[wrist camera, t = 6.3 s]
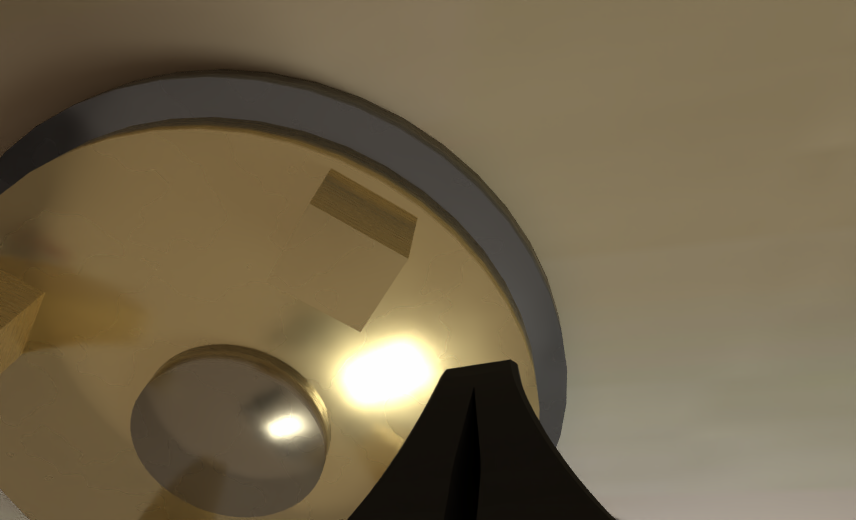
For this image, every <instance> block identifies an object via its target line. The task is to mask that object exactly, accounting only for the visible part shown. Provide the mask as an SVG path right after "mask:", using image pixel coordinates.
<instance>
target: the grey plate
mask: <svg viewBox="0 0 856 520" xmlns="http://www.w3.org/2000/svg"><path fill="white" fill-rule="evenodd" d="M201 117H221V118H231V119H242V120H253V121H261V122H266V123H270V124H275V125H279V126H284V127H288V128H293V129H297V130H301V131H305V132H308V133H311V134H314V135H316V136H319V137H322V138H325V139H328V140H330V141H333V142H336V143H339V144H342V145H344V146H347V147H349V148H351V149H353V150H355V151H357V152H359V153H361V154H363V155H365V156H367V157H369V158H371V159H373V160H375V161H377V162H379V163H381V164H383V165H385V166H387V167H388V168H390V169H391V170H393V171H394V172H396V173H397V174H399V175H400V176H402V177H403V178H405V179H406V180H408V181H409V182H411V183H412V184H414V185H415V186H417V187H418V188H420V189H421V190H423V191H424V192H426V193H427V194H428V195H429V196H430V197H431V198H432V199H434V200H435V201H436V202H437V203H438V204H439V205H441V206H442V207H443V208H444V209H445V210H446V211H447V212H449V213H450V214H451V215H452V216H453V217H454V218H456V219H457V221H458V222H459V223H460V224H461V225H462V226H463V227H464V228H465V229H466V231H467V232H468V233H469V234H470V235H471V236H472V237H473V238H474V240H475V241H476V242H477V243H478V244H479V245H480V246H481V247H482V249H483V250H484V251H485V253H486V254H487V256H488V257H489V259H490V260H491V262H492V263H493V265H494V266H495V268H496V269H497V270H498V272H499V273H500V275H501V276H502V278H503V279H504V281H505V282H506V285H507V287H508V289H509V291H510V293H511V295H512V297H513V299H514V301H515V303H516V305H517V307H518V309H519V311H520V313H521V316H522V319H523V322H524V325H525V329H526V332H527V335H528V338H529V342H530V345H531V348H532V355H533V361H534V368H535V375H536V382H537V391H538V400H539V421H540V423H541V425H542V426H543V428H544V430H545V432H546V433H547V435H548V436H549V438H550V439H551V441H552V443H553V444H554V446H555V447H556V446H557V443H558V441H559V438H560V434H561V429H562V423H563V418H564V412H565V407H566V386H567V367H566V360H565V353H564V346H563V339H562V332H561V327H560V321H559V316H558V312H557V308H556V305H555V302H554V299H553V295H552V292H551V289H550V286H549V282H548V279H547V276H546V274H545V272H544V270H543V268H542V266H541V264H540V262H539V260H538V258H537V256H536V253H535V251H534V249H533V247H532V245H531V243H530V241H529V240H528V238H527V237H526V235H525V234H524V232H523V231H522V229H521V228H520V226H519V225H518V223H517V222H516V220H515V219H514V217H513V216H512V214H511V213H510V211H509V210H508V208H507V207H506V206H505V205H504V204H503V202H502V201H501V200H500V199H499V198H498V197H497V196H496V195H495V193H494V192H493V191H492V190H491V189H490V188H489V187H488V185H487V184H486V183H485V182H484V181H483V180H482V179H481V178H480V176H479V175H478V174H476V173H475V172H474V171H473V170H472V169H471V168H470V167H468V166H467V165H466V164H465V163H464V162H463V161H461V160H460V159H459V158H458V157H457V156H456V155H455V154H453V153H452V152H451V151H450V150H449V149H448V148H446V147H445V146H444V145H443V144H441V143H440V142H438V141H437V140H435V139H434V138H432V137H431V136H429V135H428V134H426V133H425V132H423V131H422V130H420V129H419V128H417V127H416V126H414V125H413V124H411V123H410V122H408V121H407V120H405V119H403V118H401V117H399V116H397V115H395V114H393V113H391V112H389V111H387V110H385V109H383V108H381V107H379V106H377V105H375V104H373V103H371V102H369V101H367V100H365V99H363V98H360V97H357V96H354V95H351V94H348V93H345V92H343V91H340V90H337V89H334V88H331V87H328V86H325V85H322V84H319V83H317V82H312V81H307V80H302V79H297V78H292V77H288V76H283V75H278V74H273V73H266V72H253V71H239V70H225V69H219V70H204V71H188V72H175V73H171V74H166V75H161V76H156V77H152V78H147V79H142V80H137V81H133V82H130V83H128V84H125V85H122V86H120V87H117V88H114V89H112V90H109V91H106V92H104V93H101V94H98V95H96V96H93V97H91V98H89V99H87V100H84V101H82V102H80V103H78V104H75V105H73V106H71V107H69V108H68V109H66V110H64V111H62V112H61V113H59V114H57V115H55V116H54V117H52V118H50V119H48V120H47V121H45V122H43V123H41V124H40V125H38V126H36V127H35V128H34V129H33V130H31V131H30V132H29V133H28V134H27V135H25V136H24V137H23V138H22V139H21V140H19V141H18V142H17V143H16V144H14V145H13V146H12V147H11V148H10V149H8V150H7V151H6V152H5V153H4V154H3V156H2V157H1V158H0V195H1V194H2V193H3V192H5V191H6V190H7V189H8V188H10V187H11V186H12V185H14V184H15V183H16V182H18V181H19V180H20V179H22V178H23V177H24V176H26V175H27V174H28V173H30V172H31V171H33V170H35V169H37V168H38V167H40V166H42V165H44V164H46V163H48V162H49V161H51V160H53V159H55V158H57V157H58V156H60V155H62V154H64V153H66V152H68V151H70V150H72V149H74V148H76V147H78V146H79V145H81V144H83V143H85V142H87V141H89V140H91V139H93V138H96V137H99V136H102V135H105V134H108V133H111V132H114V131H117V130H120V129H123V128H126V127H129V126H133V125H139V124H144V123H150V122H155V121H161V120H167V119H175V118H201Z"/></svg>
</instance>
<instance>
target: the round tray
mask: <svg viewBox="0 0 856 520" xmlns="http://www.w3.org/2000/svg"><path fill="white" fill-rule="evenodd" d="M509 359H511V360H512V361H514V362H516V363H517V364H518V368H519V372H520V377H521V382H522V386H523V389H524V391H525V394H526V396H527V398H528V400H529V403H530V404H531V406H532V408H533V410H534V412H535V414H536V416H537V418H538V419H539V400H538V391H537V382H536V375H535V368H534V361H533V355H532V348H531V345H530V342H529V338H528V335H527V332H526V329H525V325H524V322H523V319H522V316H521V313H520V311H519V309H518V307H517V305H516V303H515V301H514V299H513V297H512V295H511V293H510V291H509V289H508V287H507V285H506V282H505V281H504V279H503V278H502V276H501V275H500V273H499V272H498V270H497V269H496V268H495V266H494V265H493V263H492V262H491V260H490V259H489V257H488V256H487V254H486V253H485V251H484V250H483V249H482V247H481V246H480V245H479V244H478V243H477V242H476V241H475V240H474V238H473V237H472V236H471V235H470V234H469V233H468V232H467V231H466V229H465V228H464V227H463V226H462V225H461V224H460V223H459V222H458V221H457V219H456V218H454V217H453V216H452V215H451V214H450V213H449V212H447V211H446V210H445V209H444V208H443V207H442V206H441V205H439V204H438V203H437V202H436V201H435V200H434V199H432V198H431V197H430V196H429V195H428V194H427V193H426V192H424V191H423V190H421V189H420V188H418V187H417V186H415V185H414V184H412V183H411V182H409V181H408V180H406V179H405V178H403V177H402V176H400V175H399V174H397V173H396V172H394V171H393V170H391V169H390V168H388V167H387V166H385V165H383V164H381V163H379V162H377V161H375V160H373V159H371V158H369V157H367V156H365V155H363V154H361V153H359V152H357V151H355V150H353V149H351V148H349V147H347V146H344V145H342V144H339V143H336V142H333V141H330V140H328V139H325V138H322V137H319V136H316V135H314V134H311V133H308V132H305V131H301V130H297V129H293V128H288V127H284V126H279V125H275V124H270V123H266V122H261V121H253V120H242V119H231V118H221V117H201V118H175V119H167V120H161V121H155V122H150V123H144V124H139V125H133V126H129V127H126V128H123V129H120V130H117V131H114V132H111V133H108V134H105V135H102V136H99V137H96V138H93V139H91V140H89V141H87V142H85V143H83V144H81V145H79V146H78V147H76V148H74V149H72V150H70V151H68V152H66V153H64V154H62V155H60V156H58V157H57V158H55V159H53V160H51V161H49V162H48V163H46V164H44V165H42V166H40V167H38V168H37V169H35V170H33V171H31V172H30V173H28V174H27V175H26V176H24V177H23V178H22V179H20V180H19V181H18V182H16V183H15V184H14V185H12V186H11V187H10V188H8V189H7V190H6V191H5V192H3V193H2V194H1V195H0V488H1V490H2V491H3V492H4V493H5V494H6V495H7V496H8V498H9V499H10V500H11V501H12V502H13V503H14V504H15V505H16V506H17V507H18V508H19V509H20V510H21V511H22V512H23V513H24V514H25V515H26V516H27V517H28V518H29V519H30V520H347V519H348V518H349V517H350V515H351V514H352V513H353V512H354V511H355V510H356V508H357V507H358V506H359V505H360V504H361V502H362V501H363V500H364V499H365V497H366V496H367V495H368V494H369V492H370V491H371V490H372V488H373V487H374V486H375V484H376V483H377V482H378V480H379V479H380V478H381V476H382V475H383V473H384V472H385V470H386V469H387V467H388V466H389V465H390V463H391V462H392V460H393V459H394V457H395V456H396V454H397V453H398V451H399V450H400V448H401V447H402V445H403V444H404V442H405V440H406V439H407V437H408V435H409V434H410V432H411V430H412V429H413V427H414V425H415V424H416V422H417V420H418V419H419V417H420V415H421V413H422V412H423V410H424V408H425V406H426V404H427V403H428V401H429V399H430V397H431V395H432V393H433V391H434V389H435V387H436V385H437V383H438V381H439V379H440V377H441V375H442V374H443V373H444V371H445V370H446V369H450V368H457V367H464V366H470V365H477V364H483V363H490V362H496V361H503V360H509Z"/></svg>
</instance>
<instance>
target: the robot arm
mask: <svg viewBox="0 0 856 520" xmlns="http://www.w3.org/2000/svg"><path fill="white" fill-rule="evenodd" d="M347 520H616V519H615V518H614V517H613V516H611V515H610V514H609V513H608V512H607V511H606V509H605V508H604V507H603V506H602V505H601V504H600V503H599V502H598V501H597V499H596V498H595V497H594V496H593V495H592V494H591V493H590V492H589V490H588V489H587V488H586V487H585V486H584V484H583V483H582V482H581V481H580V480H579V478H578V477H577V476H576V475H575V473H574V472H573V471H572V469H571V468H570V467H569V465H568V464H567V463H566V461H565V460H564V459H563V457H562V456H561V454H560V453H559V451H558V450H557V448H556V447H555V446H554V444H553V443H552V441H551V439H550V438H549V436H548V435H547V433H546V432H545V430H544V428H543V426H542V425H541V423H540V421H539V419H538V418H537V416H536V414H535V412H534V410H533V408H532V406H531V404H530V403H529V400H528V398H527V396H526V394H525V391H524V389H523V386H522V382H521V377H520V372H519V368H518V364H517V363H516V362H514V361H512V360H511V359H509V360H503V361H496V362H490V363H483V364H477V365H470V366H464V367H457V368H450V369H446V370H445V371H444V373H443V374H442V375H441V377H440V379H439V381H438V383H437V385H436V387H435V389H434V391H433V393H432V395H431V397H430V399H429V401H428V403H427V404H426V406H425V408H424V410H423V412H422V413H421V415H420V417H419V419H418V420H417V422H416V424H415V425H414V427H413V429H412V430H411V432H410V434H409V435H408V437H407V439H406V440H405V442H404V444H403V445H402V447H401V448H400V450H399V451H398V453H397V454H396V456H395V457H394V459H393V460H392V462H391V463H390V465H389V466H388V467H387V469H386V470H385V472H384V473H383V475H382V476H381V478H380V479H379V480H378V482H377V483H376V484H375V486H374V487H373V488H372V490H371V491H370V492H369V494H368V495H367V496H366V497H365V499H364V500H363V501H362V502H361V504H360V505H359V506H358V507H357V508H356V510H355V511H354V512H353V513H352V514H351V515H350V517H349V518H348V519H347Z"/></svg>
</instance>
